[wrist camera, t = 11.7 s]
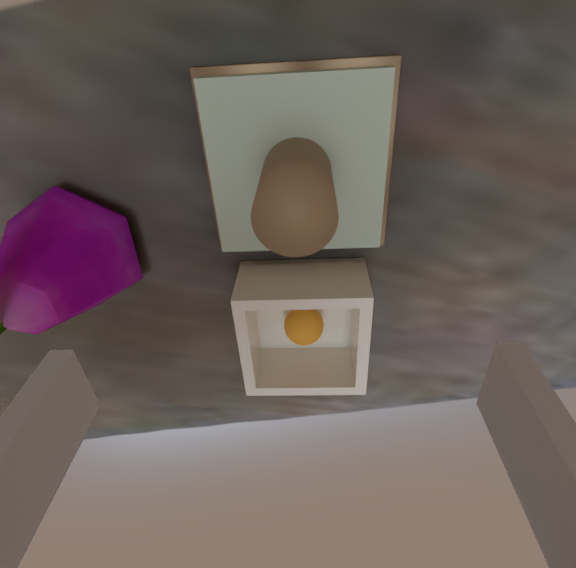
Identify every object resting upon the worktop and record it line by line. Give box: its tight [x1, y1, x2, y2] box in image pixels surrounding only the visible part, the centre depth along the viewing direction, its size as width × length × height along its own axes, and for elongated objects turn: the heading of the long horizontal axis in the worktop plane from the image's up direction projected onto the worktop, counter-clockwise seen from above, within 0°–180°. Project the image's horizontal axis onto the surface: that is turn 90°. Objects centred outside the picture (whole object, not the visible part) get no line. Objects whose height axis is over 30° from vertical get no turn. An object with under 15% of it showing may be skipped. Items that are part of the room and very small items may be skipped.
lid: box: [193, 65, 395, 257], centre depth 27 cm, size 13×13×9 cm
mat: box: [190, 55, 401, 250], centre depth 31 cm, size 14×14×1 cm
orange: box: [284, 309, 324, 345], centre depth 37 cm, size 4×4×4 cm
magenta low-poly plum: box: [0, 186, 143, 334], centre depth 29 cm, size 11×11×15 cm
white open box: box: [231, 258, 374, 396], centre depth 36 cm, size 11×11×6 cm
